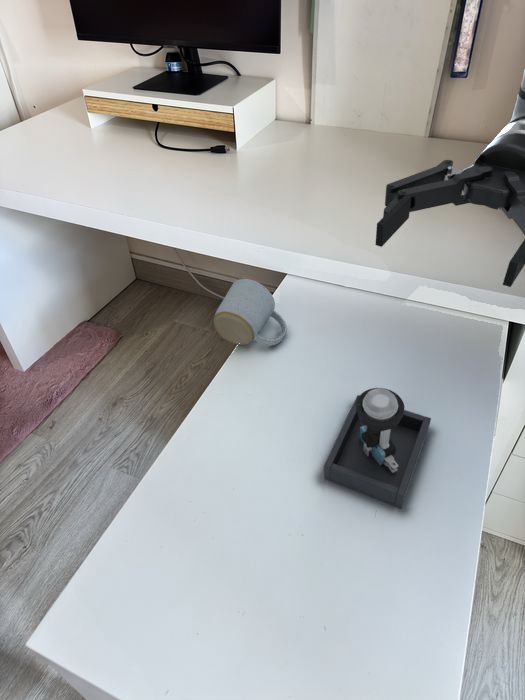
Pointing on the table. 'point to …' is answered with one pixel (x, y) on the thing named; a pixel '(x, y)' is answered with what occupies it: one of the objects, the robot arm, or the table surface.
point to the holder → (364, 471)
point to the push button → (379, 423)
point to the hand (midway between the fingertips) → (440, 254)
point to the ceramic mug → (247, 314)
